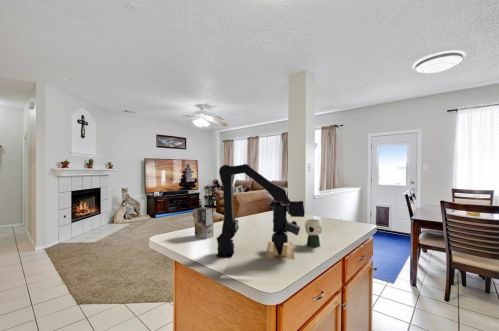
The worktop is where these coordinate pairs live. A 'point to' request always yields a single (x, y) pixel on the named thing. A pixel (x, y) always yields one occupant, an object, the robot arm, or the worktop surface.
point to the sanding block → (284, 250)
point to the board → (289, 256)
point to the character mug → (313, 232)
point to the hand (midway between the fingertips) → (280, 253)
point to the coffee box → (204, 222)
